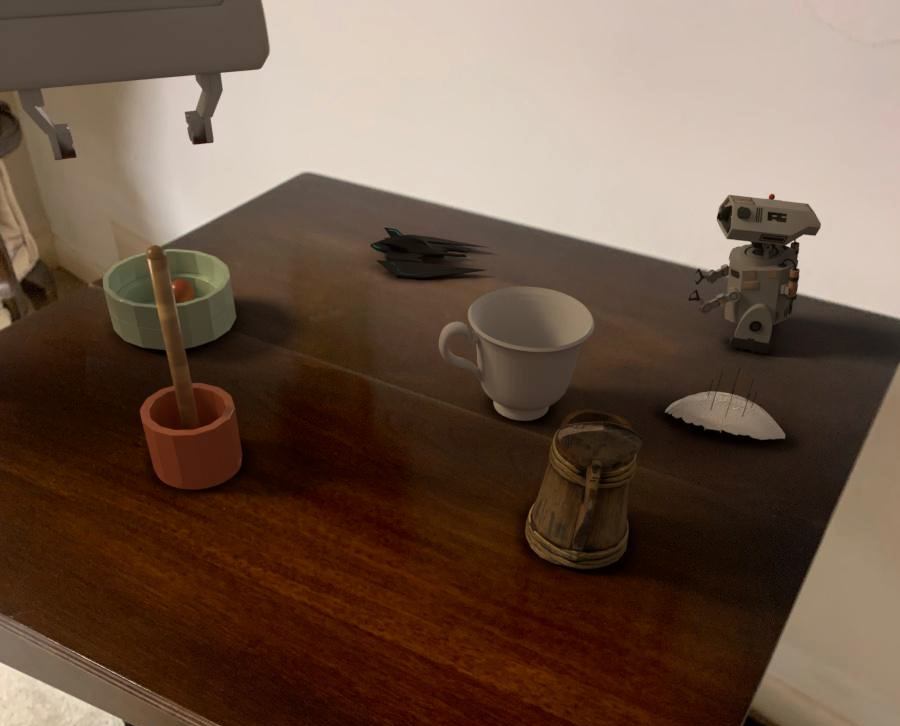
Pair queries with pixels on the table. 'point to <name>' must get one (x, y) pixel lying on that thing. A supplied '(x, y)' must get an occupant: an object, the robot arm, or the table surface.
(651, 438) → the table surface
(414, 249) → the black starfighter
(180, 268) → the bowl
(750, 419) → the pincushion
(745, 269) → the figurine
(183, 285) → the bead
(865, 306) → the table surface
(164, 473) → the holder
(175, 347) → the stirring stick
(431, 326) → the table surface
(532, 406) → the teacup
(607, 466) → the wooden mug
